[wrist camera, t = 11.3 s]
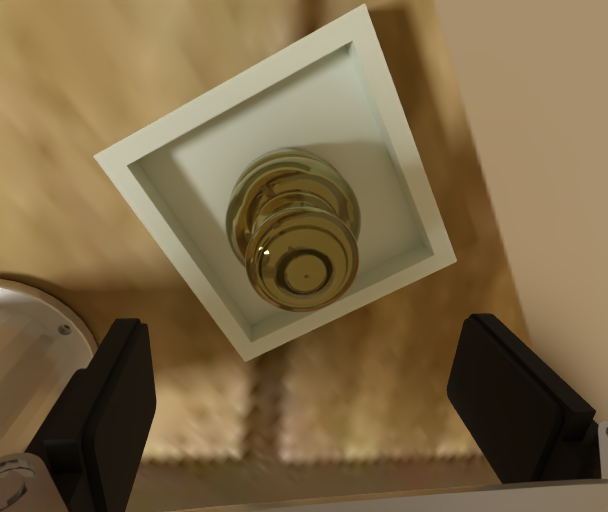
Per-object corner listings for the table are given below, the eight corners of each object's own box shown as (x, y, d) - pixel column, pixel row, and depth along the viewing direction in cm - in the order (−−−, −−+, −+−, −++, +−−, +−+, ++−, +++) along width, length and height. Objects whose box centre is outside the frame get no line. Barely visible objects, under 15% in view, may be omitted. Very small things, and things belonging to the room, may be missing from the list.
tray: (439, 245, 28) (457, 261, 25) (246, 338, 30) (245, 362, 27) (352, 12, 22) (364, 3, 19) (112, 148, 23) (93, 155, 21)
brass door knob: (330, 265, 27) (365, 358, 18) (222, 247, 26) (201, 337, 16) (360, 160, 24) (420, 206, 15) (241, 133, 23) (228, 166, 14)
